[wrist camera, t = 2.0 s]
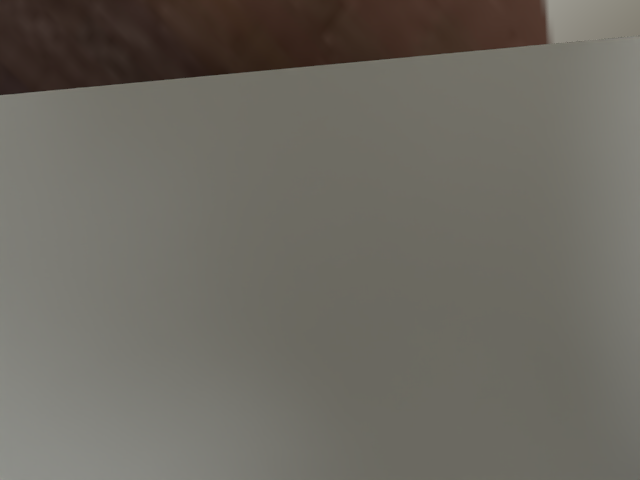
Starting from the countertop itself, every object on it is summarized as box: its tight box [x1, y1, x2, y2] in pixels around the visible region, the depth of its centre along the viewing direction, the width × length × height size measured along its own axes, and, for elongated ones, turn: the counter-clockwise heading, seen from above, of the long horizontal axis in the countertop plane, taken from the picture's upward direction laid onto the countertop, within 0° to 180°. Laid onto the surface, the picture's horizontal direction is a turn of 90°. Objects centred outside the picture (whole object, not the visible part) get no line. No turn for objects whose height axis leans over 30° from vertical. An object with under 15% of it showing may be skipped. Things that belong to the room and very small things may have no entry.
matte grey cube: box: [0, 36, 640, 480], centre depth 9 cm, size 11×8×9 cm
